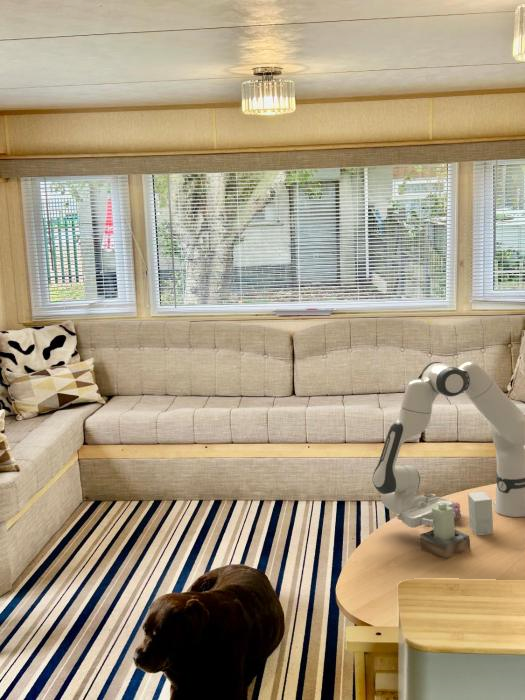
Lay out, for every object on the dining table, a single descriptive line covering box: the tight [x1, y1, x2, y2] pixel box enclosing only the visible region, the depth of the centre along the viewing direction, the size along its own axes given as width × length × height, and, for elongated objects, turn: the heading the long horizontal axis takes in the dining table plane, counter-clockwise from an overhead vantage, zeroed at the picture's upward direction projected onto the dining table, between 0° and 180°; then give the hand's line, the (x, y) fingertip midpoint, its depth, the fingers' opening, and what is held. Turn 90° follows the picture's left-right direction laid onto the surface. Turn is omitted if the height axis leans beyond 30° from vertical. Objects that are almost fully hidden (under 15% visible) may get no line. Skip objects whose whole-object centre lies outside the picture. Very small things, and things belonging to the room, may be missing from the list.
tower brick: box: [432, 503, 456, 541], centre depth 263 cm, size 5×5×12 cm
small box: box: [467, 491, 494, 536], centre depth 275 cm, size 8×6×13 cm
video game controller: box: [453, 501, 462, 522], centre depth 288 cm, size 10×5×7 cm, turn 170°
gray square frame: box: [418, 528, 471, 561], centre depth 264 cm, size 12×12×5 cm
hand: (444, 519), depth 262 cm, fingers open, 8 cm apart
